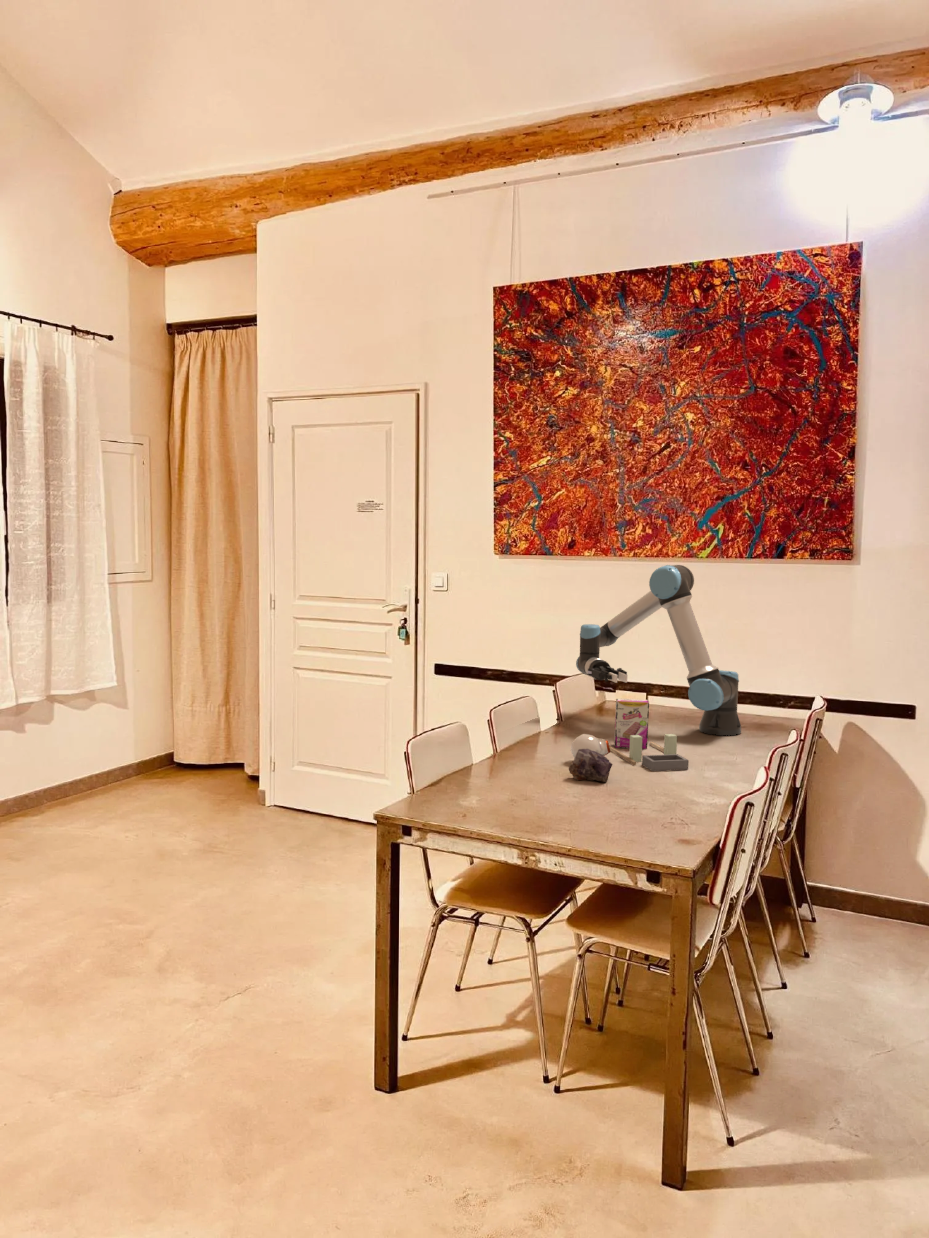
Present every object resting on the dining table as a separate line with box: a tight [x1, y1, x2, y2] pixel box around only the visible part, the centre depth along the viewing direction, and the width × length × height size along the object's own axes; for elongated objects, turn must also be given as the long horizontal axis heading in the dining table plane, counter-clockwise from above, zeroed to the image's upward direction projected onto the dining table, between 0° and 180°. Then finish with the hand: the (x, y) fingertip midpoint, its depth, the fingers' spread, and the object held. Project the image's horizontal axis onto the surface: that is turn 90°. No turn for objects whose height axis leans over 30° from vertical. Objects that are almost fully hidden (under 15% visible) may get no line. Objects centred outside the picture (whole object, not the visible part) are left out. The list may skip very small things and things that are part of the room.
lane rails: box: [609, 741, 664, 766], centre depth 320 cm, size 18×26×1 cm
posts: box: [628, 733, 678, 763], centre depth 313 cm, size 15×3×8 cm, turn 102°
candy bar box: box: [613, 698, 650, 750], centre depth 330 cm, size 11×5×16 cm, turn 84°
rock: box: [568, 749, 613, 783], centre depth 287 cm, size 12×9×10 cm
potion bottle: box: [570, 733, 611, 760], centre depth 309 cm, size 9×10×15 cm
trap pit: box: [641, 753, 690, 772], centre depth 304 cm, size 12×8×3 cm, turn 102°
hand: (621, 678), depth 339 cm, fingers open, 3 cm apart
